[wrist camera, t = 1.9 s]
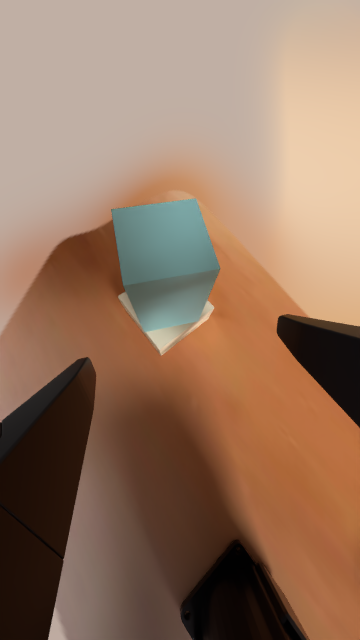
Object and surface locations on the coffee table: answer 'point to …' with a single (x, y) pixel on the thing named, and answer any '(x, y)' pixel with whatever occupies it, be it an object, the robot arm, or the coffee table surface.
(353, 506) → the coffee table surface
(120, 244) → the teal square top
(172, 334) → the post pedestal
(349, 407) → the robot arm
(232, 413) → the coffee table surface
